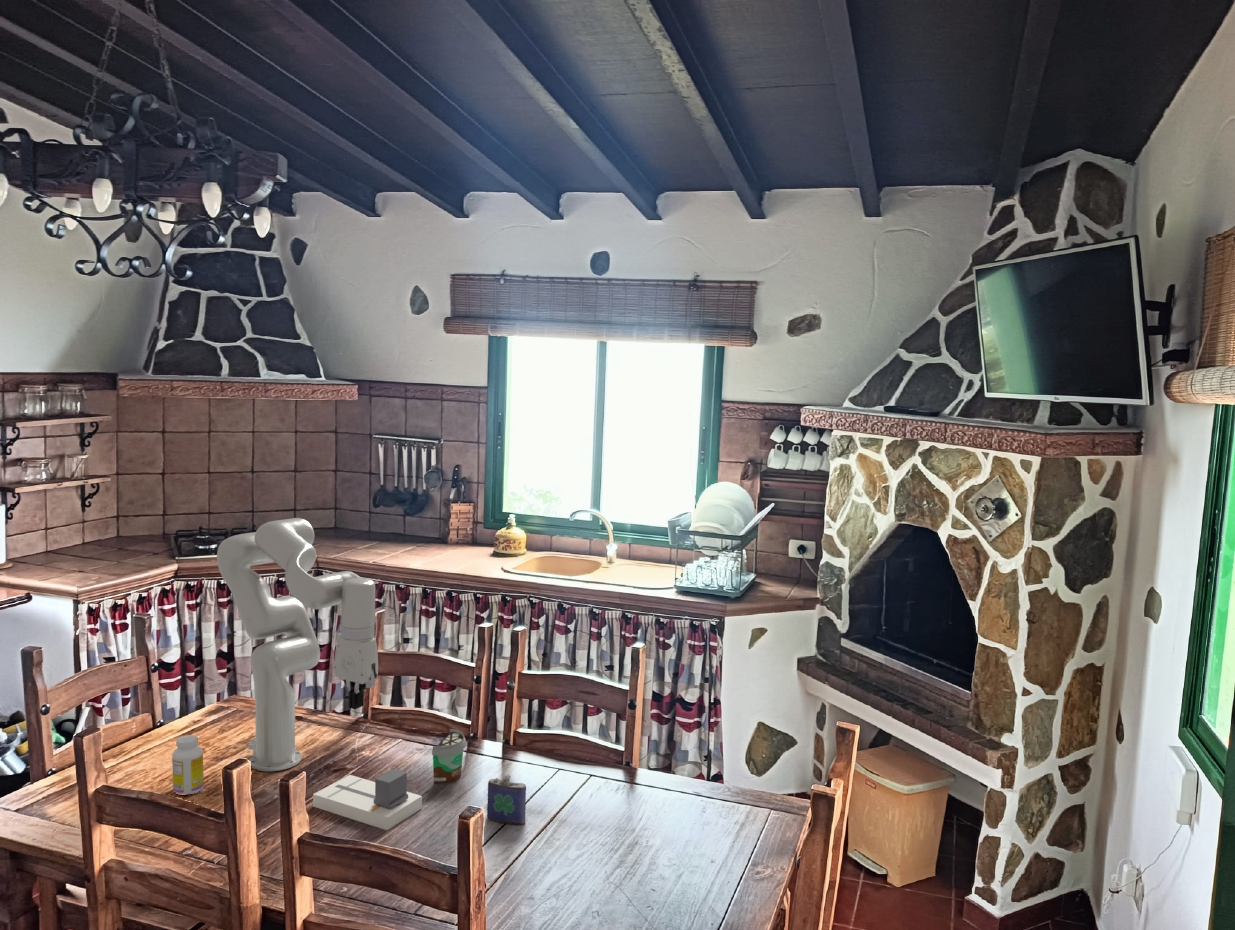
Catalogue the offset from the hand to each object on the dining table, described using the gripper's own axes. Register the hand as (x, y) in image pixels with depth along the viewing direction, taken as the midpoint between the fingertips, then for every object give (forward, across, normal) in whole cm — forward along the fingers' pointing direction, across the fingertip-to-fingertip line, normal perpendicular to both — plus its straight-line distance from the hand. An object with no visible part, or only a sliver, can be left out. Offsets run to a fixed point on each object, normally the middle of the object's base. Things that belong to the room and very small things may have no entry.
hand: (356, 706), depth 220 cm
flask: (+21, +38, +9) cm, 44 cm away
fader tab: (+18, +14, -3) cm, 23 cm away
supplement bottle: (+23, -35, -19) cm, 46 cm away
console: (+22, +7, -3) cm, 23 cm away
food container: (+22, +14, +20) cm, 33 cm away
